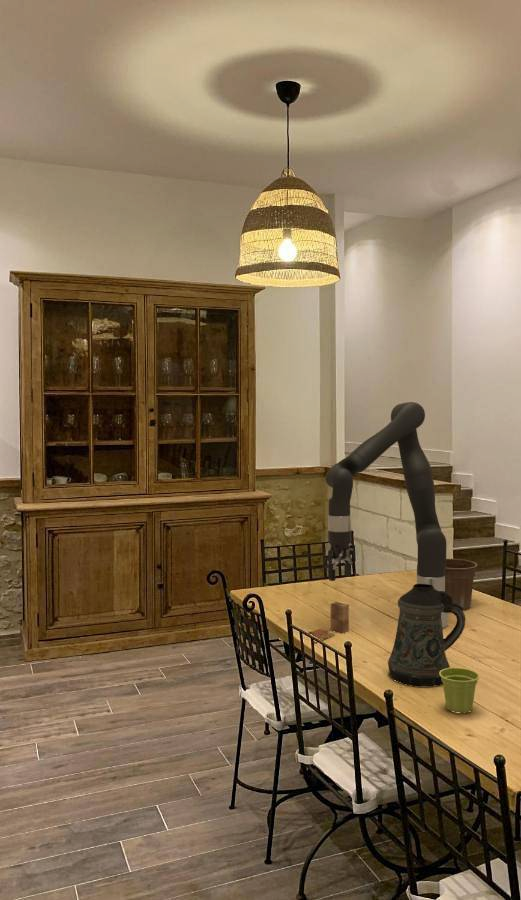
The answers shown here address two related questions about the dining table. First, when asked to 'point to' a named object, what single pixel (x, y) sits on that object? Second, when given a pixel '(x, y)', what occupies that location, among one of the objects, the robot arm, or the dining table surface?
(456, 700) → the plant pot
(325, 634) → the shard
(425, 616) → the beer stein
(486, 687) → the dining table surface
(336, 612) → the walnut slab
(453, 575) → the plant pot
